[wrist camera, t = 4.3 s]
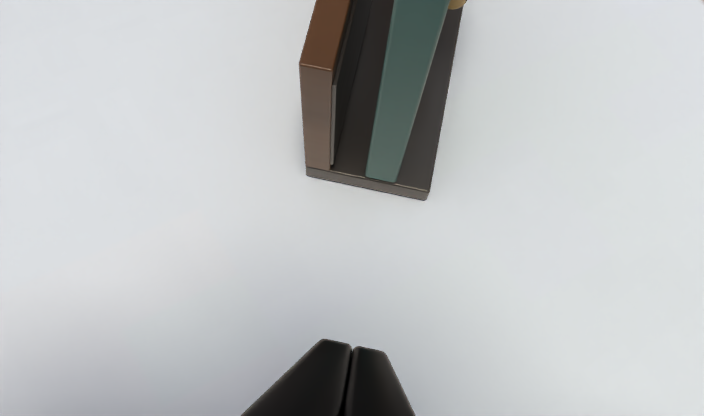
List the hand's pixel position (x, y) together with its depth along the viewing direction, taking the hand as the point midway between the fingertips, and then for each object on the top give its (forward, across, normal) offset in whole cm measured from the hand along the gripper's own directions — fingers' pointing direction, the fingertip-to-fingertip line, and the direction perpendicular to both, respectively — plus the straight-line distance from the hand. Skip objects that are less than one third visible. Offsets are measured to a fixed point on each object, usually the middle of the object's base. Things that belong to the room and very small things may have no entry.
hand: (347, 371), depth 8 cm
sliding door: (+14, 0, 0) cm, 14 cm away
